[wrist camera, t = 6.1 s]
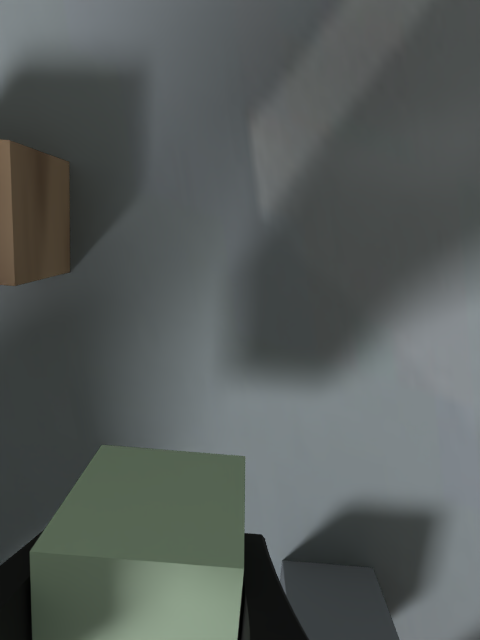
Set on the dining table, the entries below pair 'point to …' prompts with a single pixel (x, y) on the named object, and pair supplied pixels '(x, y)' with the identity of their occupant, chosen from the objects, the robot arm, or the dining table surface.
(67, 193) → the walnut block
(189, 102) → the dining table surface
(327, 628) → the gray block
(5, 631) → the robot arm
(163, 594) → the sage green block
